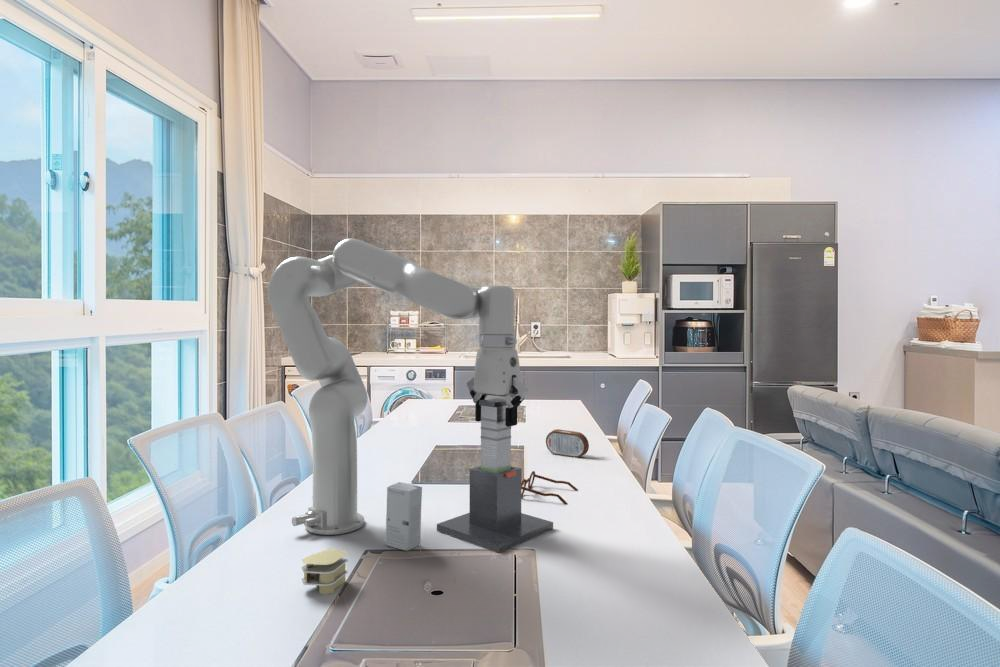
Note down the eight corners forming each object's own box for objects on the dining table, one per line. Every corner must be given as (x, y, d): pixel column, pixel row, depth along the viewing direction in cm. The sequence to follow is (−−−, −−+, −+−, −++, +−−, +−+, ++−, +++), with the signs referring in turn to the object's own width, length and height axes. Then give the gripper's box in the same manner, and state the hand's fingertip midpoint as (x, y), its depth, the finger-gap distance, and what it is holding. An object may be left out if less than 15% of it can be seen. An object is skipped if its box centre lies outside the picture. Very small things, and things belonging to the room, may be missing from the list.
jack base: (498, 552, 119) (499, 485, 118) (436, 530, 130) (437, 469, 130) (553, 528, 132) (553, 468, 132) (492, 510, 144) (492, 454, 144)
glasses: (531, 486, 166) (531, 468, 166) (578, 491, 162) (578, 473, 162) (517, 500, 154) (517, 481, 153) (567, 506, 149) (567, 486, 149)
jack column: (494, 501, 127) (494, 402, 127) (478, 496, 130) (478, 400, 130) (512, 495, 132) (513, 399, 131) (496, 491, 135) (497, 397, 134)
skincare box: (384, 545, 122) (384, 486, 122) (398, 538, 126) (398, 481, 125) (408, 551, 119) (408, 491, 118) (422, 544, 123) (422, 485, 122)
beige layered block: (322, 573, 110) (322, 543, 110) (363, 581, 106) (363, 550, 106) (283, 596, 101) (283, 564, 100) (327, 606, 97) (327, 572, 97)
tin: (589, 457, 199) (589, 432, 198) (585, 459, 196) (585, 434, 196) (548, 452, 207) (548, 427, 206) (544, 453, 204) (544, 429, 204)
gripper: (538, 343, 127) (538, 425, 128) (479, 341, 139) (478, 416, 139) (516, 345, 121) (515, 430, 122) (455, 342, 133) (455, 420, 134)
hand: (496, 422), depth 131 cm, fingers open, 8 cm apart
